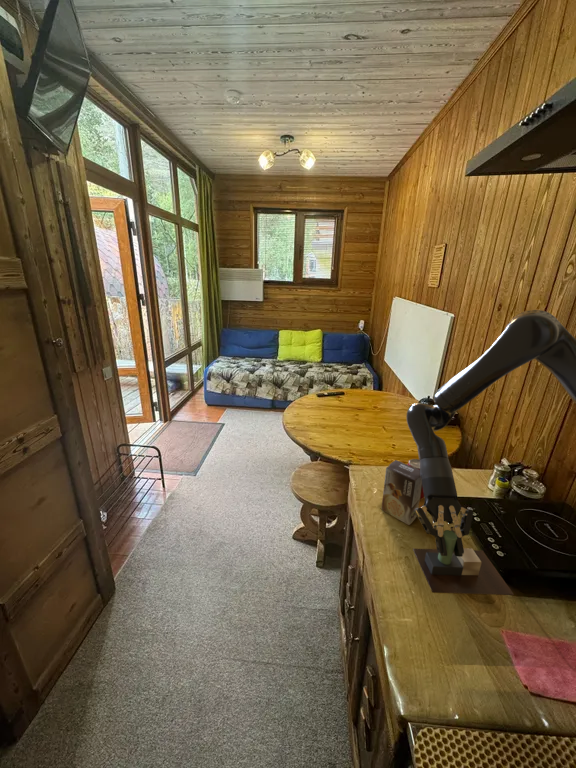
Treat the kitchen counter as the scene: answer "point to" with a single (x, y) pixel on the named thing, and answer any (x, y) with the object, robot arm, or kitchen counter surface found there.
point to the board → (465, 578)
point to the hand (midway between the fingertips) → (451, 555)
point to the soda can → (416, 464)
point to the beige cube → (470, 562)
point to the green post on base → (445, 558)
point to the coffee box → (402, 491)
